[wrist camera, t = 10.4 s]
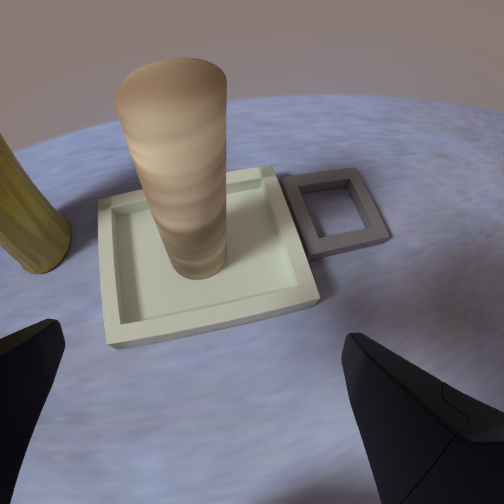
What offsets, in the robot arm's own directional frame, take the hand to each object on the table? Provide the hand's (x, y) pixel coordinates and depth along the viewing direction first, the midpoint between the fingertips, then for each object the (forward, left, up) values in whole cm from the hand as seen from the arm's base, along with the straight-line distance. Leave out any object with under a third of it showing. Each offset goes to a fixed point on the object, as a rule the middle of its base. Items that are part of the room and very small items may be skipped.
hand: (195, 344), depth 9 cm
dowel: (+9, -1, -13) cm, 16 cm away
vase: (+14, +13, -14) cm, 24 cm away
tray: (+9, -1, -14) cm, 16 cm away
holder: (+11, -13, -14) cm, 21 cm away
